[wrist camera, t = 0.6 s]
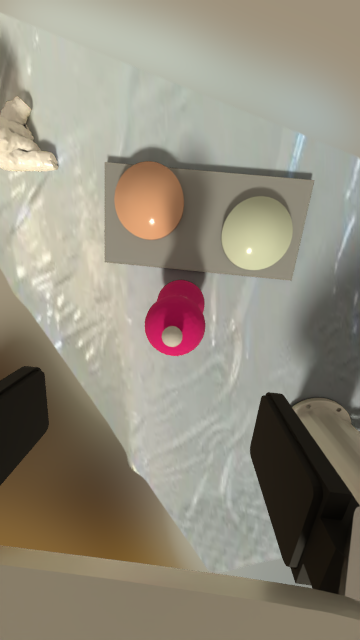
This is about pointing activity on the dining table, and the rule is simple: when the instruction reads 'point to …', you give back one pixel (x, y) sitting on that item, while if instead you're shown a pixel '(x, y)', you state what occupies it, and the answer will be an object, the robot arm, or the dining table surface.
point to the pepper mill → (176, 319)
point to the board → (205, 222)
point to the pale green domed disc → (256, 233)
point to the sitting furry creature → (21, 141)
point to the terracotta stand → (149, 200)
